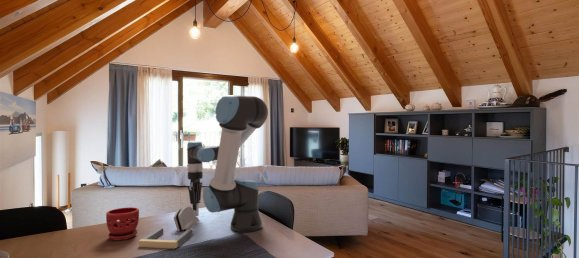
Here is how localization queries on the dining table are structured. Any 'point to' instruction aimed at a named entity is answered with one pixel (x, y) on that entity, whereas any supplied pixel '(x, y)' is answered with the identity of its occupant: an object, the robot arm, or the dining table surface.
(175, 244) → the bracket
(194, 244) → the dining table surface
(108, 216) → the plant pot
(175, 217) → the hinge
